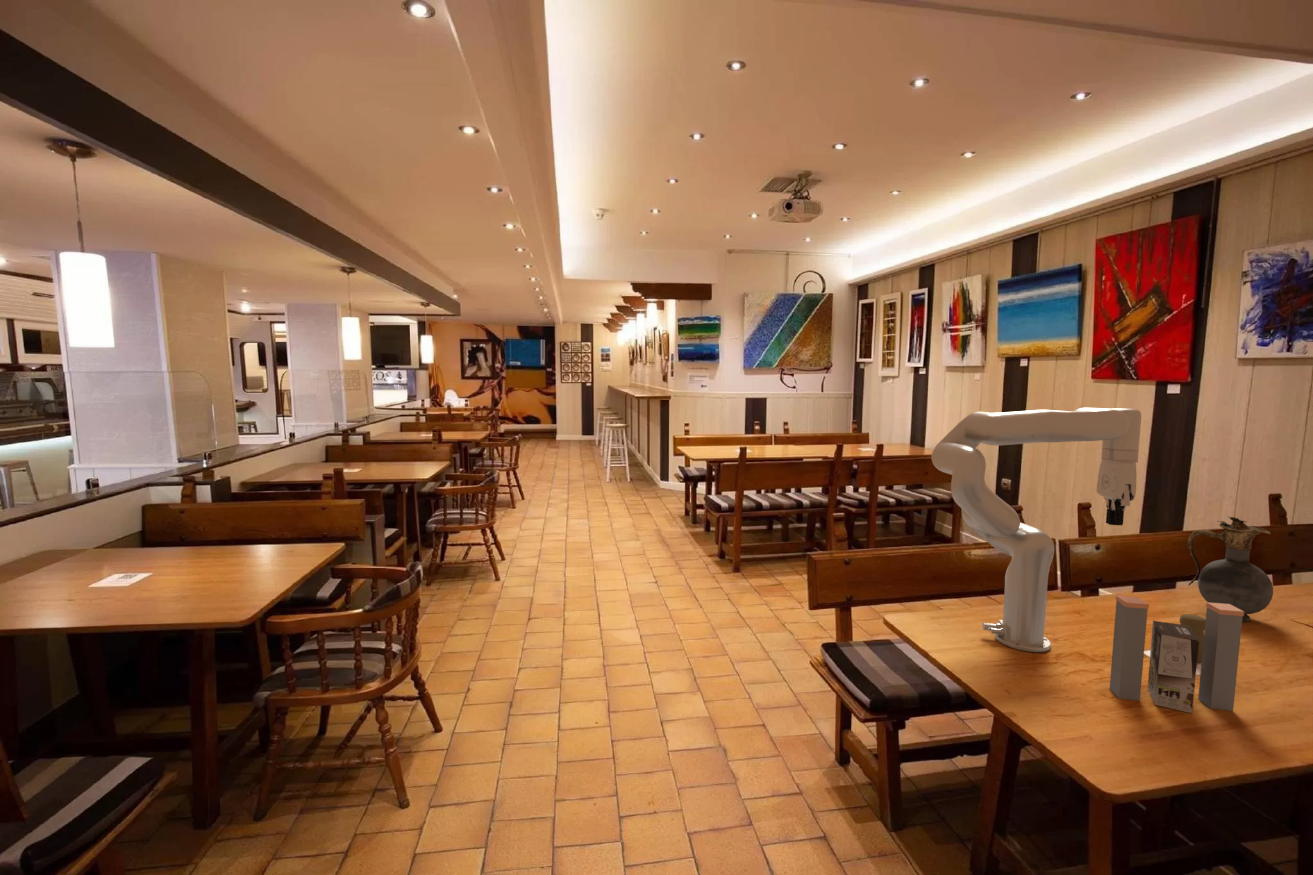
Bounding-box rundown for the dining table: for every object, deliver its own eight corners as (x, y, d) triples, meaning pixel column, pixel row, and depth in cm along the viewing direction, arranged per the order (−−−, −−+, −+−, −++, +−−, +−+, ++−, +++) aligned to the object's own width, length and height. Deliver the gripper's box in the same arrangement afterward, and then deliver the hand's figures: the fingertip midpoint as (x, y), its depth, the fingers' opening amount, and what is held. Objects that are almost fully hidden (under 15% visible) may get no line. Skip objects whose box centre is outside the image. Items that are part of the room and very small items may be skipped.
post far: (1210, 708, 125) (1219, 609, 122) (1197, 698, 129) (1206, 602, 127) (1234, 711, 124) (1244, 611, 121) (1220, 700, 128) (1229, 603, 126)
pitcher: (1263, 630, 163) (1274, 525, 160) (1175, 607, 179) (1184, 512, 176) (1274, 621, 169) (1285, 520, 166) (1188, 600, 185) (1197, 508, 182)
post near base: (1118, 698, 129) (1126, 602, 127) (1108, 688, 133) (1116, 595, 131) (1140, 701, 128) (1148, 604, 126) (1130, 691, 132) (1137, 597, 130)
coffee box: (1193, 714, 123) (1200, 640, 121) (1154, 705, 126) (1160, 633, 124) (1183, 694, 130) (1190, 625, 129) (1146, 686, 134) (1152, 618, 132)
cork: (1212, 664, 144) (1217, 621, 143) (1184, 662, 145) (1188, 619, 144) (1195, 653, 150) (1199, 612, 149) (1168, 651, 151) (1172, 610, 150)
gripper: (1089, 451, 160) (1084, 517, 162) (1118, 459, 146) (1112, 530, 147) (1120, 452, 158) (1115, 518, 160) (1153, 459, 144) (1147, 532, 146)
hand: (1114, 524), depth 154 cm, fingers closed
